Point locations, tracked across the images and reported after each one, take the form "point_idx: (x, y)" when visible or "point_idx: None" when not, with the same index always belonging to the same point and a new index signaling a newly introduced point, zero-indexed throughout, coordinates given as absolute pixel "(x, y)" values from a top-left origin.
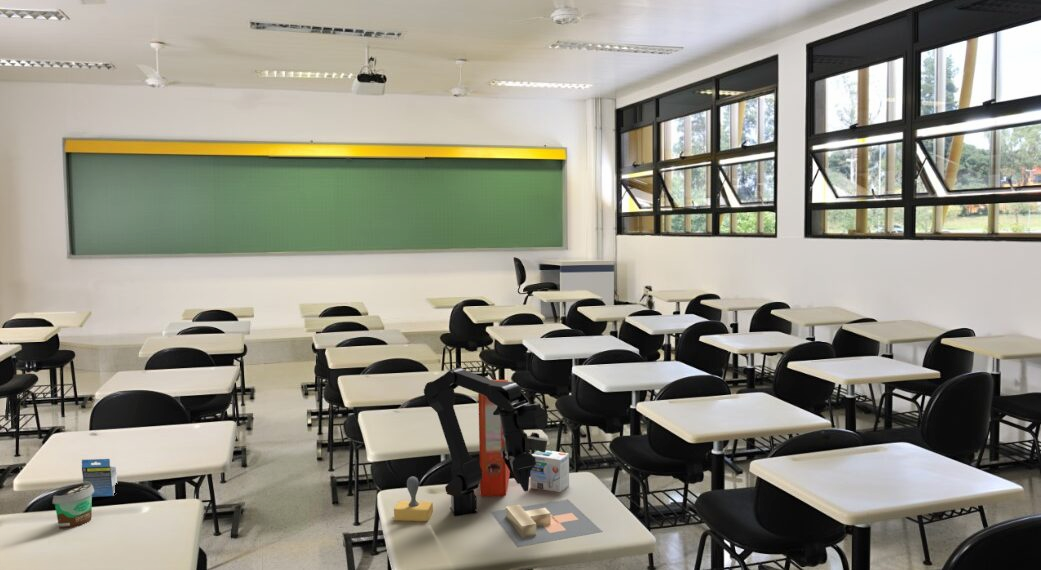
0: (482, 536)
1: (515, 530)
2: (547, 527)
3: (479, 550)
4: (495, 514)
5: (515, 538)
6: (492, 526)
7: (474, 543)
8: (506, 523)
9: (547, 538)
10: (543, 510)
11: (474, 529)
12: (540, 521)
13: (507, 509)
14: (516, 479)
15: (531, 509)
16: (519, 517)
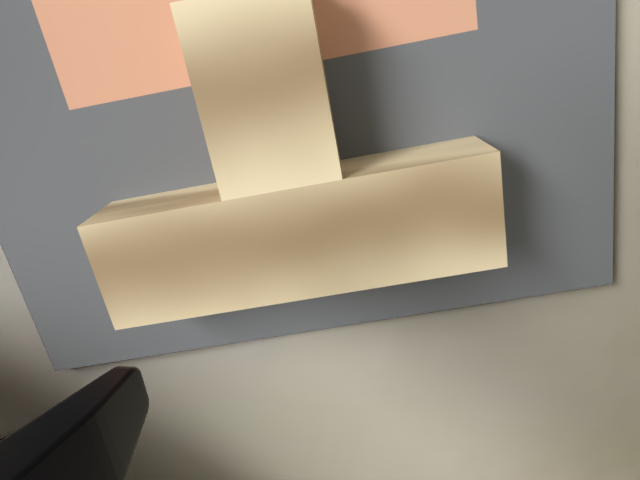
0: (377, 434)
1: None
2: (377, 27)
3: (542, 461)
4: (101, 348)
5: (489, 279)
6: (254, 373)
7: (452, 475)
8: None
9: (566, 66)
10: (234, 33)
11: (278, 461)
12: (325, 78)
13: (161, 320)
14: (121, 463)
15: (19, 96)
16: (340, 261)
